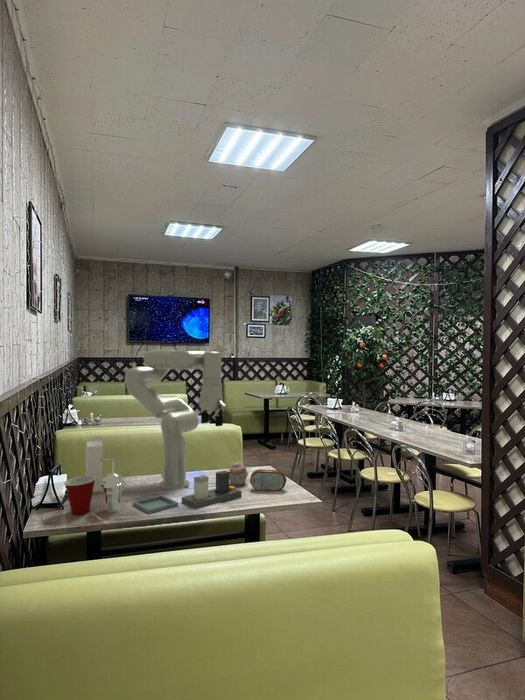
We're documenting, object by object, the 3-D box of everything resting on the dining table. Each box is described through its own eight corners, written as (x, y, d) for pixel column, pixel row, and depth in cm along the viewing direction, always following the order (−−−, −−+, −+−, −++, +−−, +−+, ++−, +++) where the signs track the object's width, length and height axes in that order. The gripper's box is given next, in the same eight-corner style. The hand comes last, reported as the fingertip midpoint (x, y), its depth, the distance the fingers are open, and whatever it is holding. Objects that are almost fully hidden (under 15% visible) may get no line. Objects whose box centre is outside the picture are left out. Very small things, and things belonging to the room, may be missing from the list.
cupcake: (252, 482, 198) (252, 460, 198) (241, 488, 190) (241, 464, 190) (234, 479, 203) (234, 457, 203) (222, 485, 194) (223, 462, 194)
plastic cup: (73, 506, 167) (73, 474, 167) (101, 507, 166) (101, 475, 166) (57, 517, 156) (57, 482, 156) (86, 518, 155) (86, 483, 155)
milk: (85, 489, 188) (85, 436, 188) (101, 487, 191) (100, 435, 191) (87, 493, 183) (87, 439, 183) (102, 491, 185) (102, 437, 186)
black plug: (215, 497, 178) (215, 472, 178) (224, 495, 181) (224, 470, 181) (220, 499, 175) (220, 474, 175) (229, 497, 178) (229, 472, 178)
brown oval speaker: (286, 489, 189) (286, 469, 189) (285, 492, 186) (286, 471, 186) (250, 488, 190) (250, 468, 190) (249, 490, 187) (249, 470, 187)
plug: (193, 503, 171) (194, 477, 171) (203, 501, 174) (203, 475, 174) (198, 505, 169) (198, 479, 169) (208, 503, 172) (208, 476, 172)
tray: (133, 506, 167) (133, 501, 167) (161, 499, 176) (161, 494, 176) (148, 515, 159) (148, 510, 159) (178, 507, 167) (178, 502, 167)
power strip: (181, 503, 171) (181, 495, 171) (227, 491, 185) (227, 483, 185) (194, 510, 164) (195, 501, 164) (241, 497, 179) (241, 488, 179)
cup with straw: (128, 512, 161) (128, 457, 161) (102, 517, 156) (102, 460, 156) (121, 505, 168) (122, 452, 168) (96, 510, 163) (96, 455, 163)
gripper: (192, 381, 186) (191, 422, 186) (217, 383, 173) (217, 428, 173) (207, 380, 191) (206, 420, 191) (232, 382, 178) (232, 426, 178)
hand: (211, 424), depth 182 cm, fingers open, 9 cm apart
